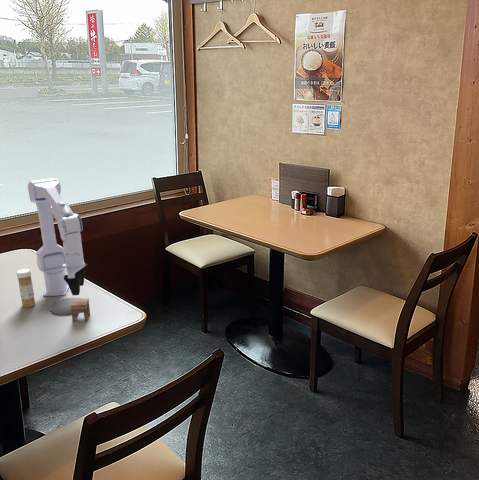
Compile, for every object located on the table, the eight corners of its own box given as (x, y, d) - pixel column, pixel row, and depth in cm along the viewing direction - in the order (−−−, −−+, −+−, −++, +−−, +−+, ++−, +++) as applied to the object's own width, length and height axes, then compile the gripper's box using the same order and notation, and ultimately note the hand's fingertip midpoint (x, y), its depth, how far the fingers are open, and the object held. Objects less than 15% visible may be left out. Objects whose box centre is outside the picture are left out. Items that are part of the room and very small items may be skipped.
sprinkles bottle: (32, 301, 186) (26, 267, 182) (37, 305, 183) (32, 270, 179) (19, 305, 183) (14, 270, 179) (25, 309, 180) (19, 274, 176)
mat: (55, 299, 187) (55, 298, 187) (91, 298, 188) (91, 296, 188) (45, 316, 175) (45, 314, 174) (84, 314, 176) (84, 312, 176)
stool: (75, 314, 175) (73, 298, 174) (90, 314, 176) (88, 298, 174) (72, 321, 171) (70, 305, 169) (87, 320, 171) (85, 304, 169)
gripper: (65, 245, 172) (70, 282, 176) (55, 260, 158) (61, 300, 163) (86, 244, 173) (91, 281, 177) (78, 259, 159) (83, 298, 163)
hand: (78, 290), depth 170 cm, fingers open, 7 cm apart
